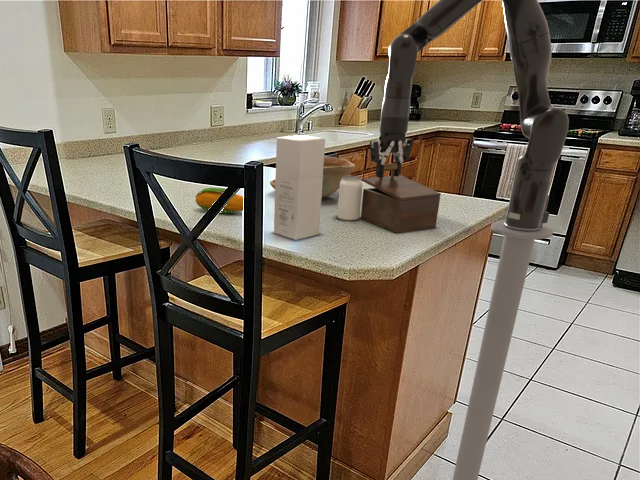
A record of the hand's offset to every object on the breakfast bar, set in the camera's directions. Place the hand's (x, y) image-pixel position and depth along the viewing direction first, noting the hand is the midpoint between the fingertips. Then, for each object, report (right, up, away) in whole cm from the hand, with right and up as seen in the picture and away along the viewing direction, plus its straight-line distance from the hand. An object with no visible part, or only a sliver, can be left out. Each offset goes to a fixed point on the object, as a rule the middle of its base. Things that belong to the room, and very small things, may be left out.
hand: (387, 176), depth 152 cm
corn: (-47, -9, +11) cm, 49 cm away
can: (-11, -12, +4) cm, 16 cm away
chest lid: (+2, -4, -4) cm, 6 cm away
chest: (+3, -14, 0) cm, 14 cm away
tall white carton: (-28, -18, -10) cm, 35 cm away
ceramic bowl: (-18, 0, +31) cm, 36 cm away
